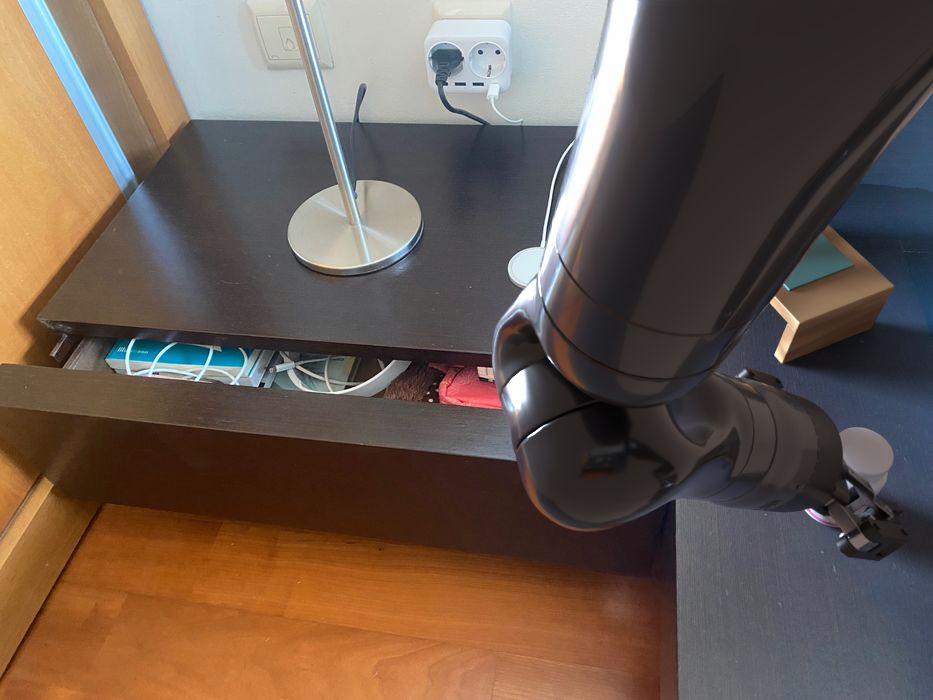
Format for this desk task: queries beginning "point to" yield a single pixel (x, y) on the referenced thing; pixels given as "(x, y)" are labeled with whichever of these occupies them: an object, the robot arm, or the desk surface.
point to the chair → (828, 297)
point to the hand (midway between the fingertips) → (847, 467)
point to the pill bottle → (863, 462)
